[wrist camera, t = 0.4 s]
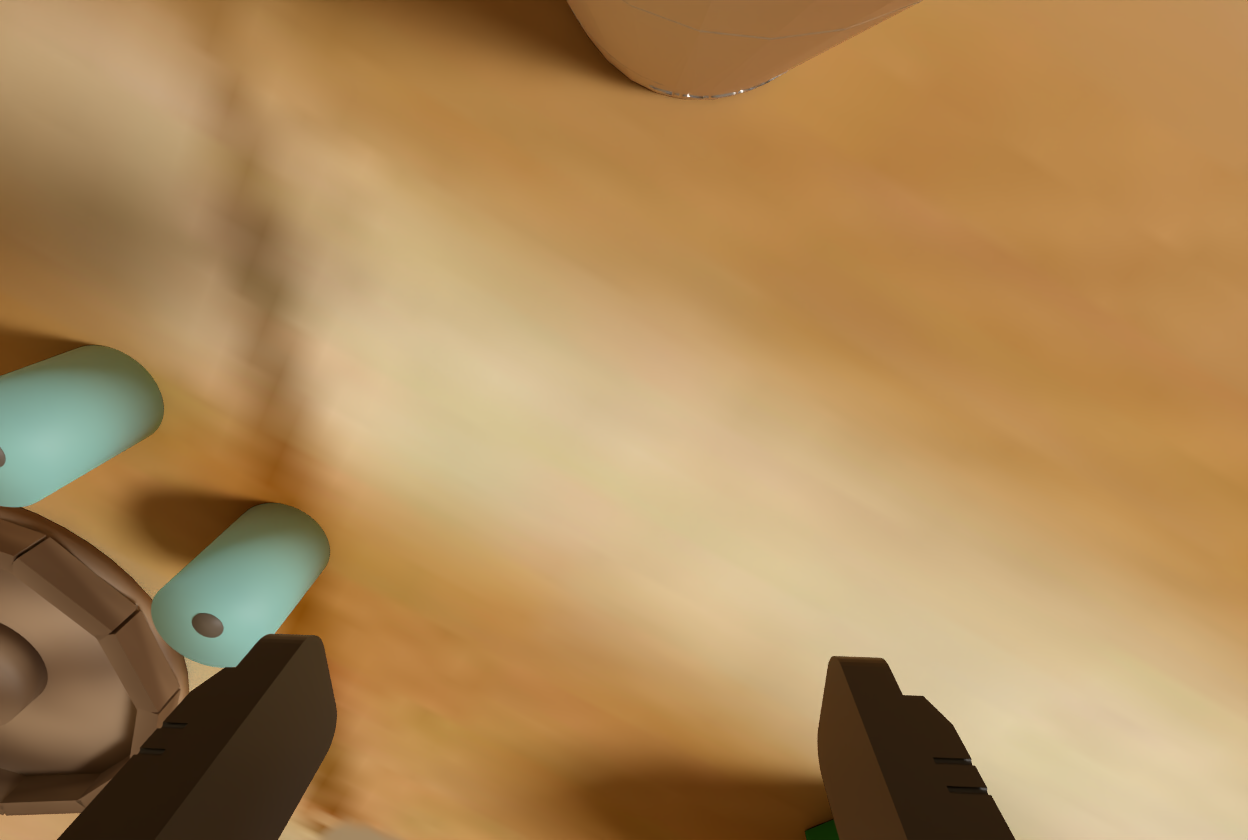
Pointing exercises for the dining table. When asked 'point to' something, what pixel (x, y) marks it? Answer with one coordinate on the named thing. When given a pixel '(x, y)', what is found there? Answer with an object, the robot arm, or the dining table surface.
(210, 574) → the bead
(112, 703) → the ring tray
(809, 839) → the milk carton
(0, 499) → the bead
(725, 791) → the dining table surface
